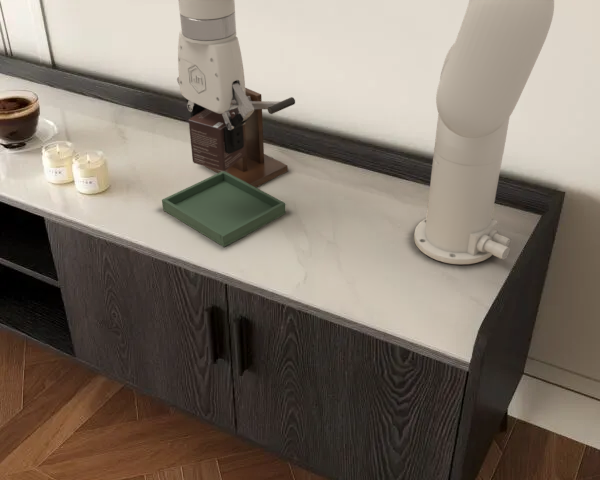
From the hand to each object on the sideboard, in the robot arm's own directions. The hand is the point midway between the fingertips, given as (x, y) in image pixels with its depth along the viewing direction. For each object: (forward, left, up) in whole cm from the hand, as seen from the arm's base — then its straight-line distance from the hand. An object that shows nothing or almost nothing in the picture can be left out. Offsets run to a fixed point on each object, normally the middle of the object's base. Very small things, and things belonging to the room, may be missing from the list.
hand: (218, 141), depth 116 cm
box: (0, 0, -3) cm, 3 cm away
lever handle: (+3, -12, 0) cm, 12 cm away
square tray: (0, 0, -13) cm, 13 cm away
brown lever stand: (+8, -12, -13) cm, 19 cm away
